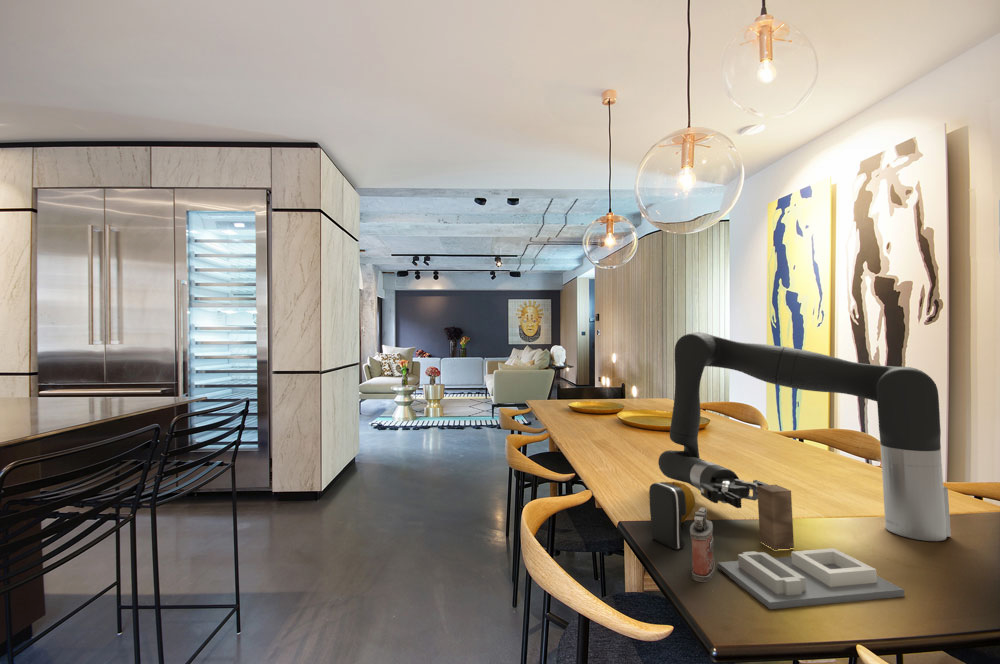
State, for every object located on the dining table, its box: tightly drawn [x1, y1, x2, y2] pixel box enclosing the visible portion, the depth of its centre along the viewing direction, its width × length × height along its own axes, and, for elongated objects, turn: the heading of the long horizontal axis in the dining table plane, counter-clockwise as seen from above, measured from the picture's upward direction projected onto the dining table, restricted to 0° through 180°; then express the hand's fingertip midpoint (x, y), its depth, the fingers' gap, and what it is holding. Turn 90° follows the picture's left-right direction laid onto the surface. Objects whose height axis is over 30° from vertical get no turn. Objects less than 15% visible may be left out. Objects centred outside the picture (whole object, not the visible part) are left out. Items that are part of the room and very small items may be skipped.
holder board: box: [717, 547, 905, 610], centre depth 75 cm, size 22×13×3 cm, turn 97°
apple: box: [664, 481, 696, 524], centre depth 102 cm, size 9×9×9 cm
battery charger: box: [648, 481, 686, 550], centre depth 92 cm, size 7×4×11 cm, turn 24°
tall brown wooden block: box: [757, 484, 795, 550], centre depth 89 cm, size 4×4×11 cm
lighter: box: [689, 506, 716, 583], centre depth 80 cm, size 8×3×10 cm, turn 148°
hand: (759, 501), depth 93 cm, fingers open, 8 cm apart
